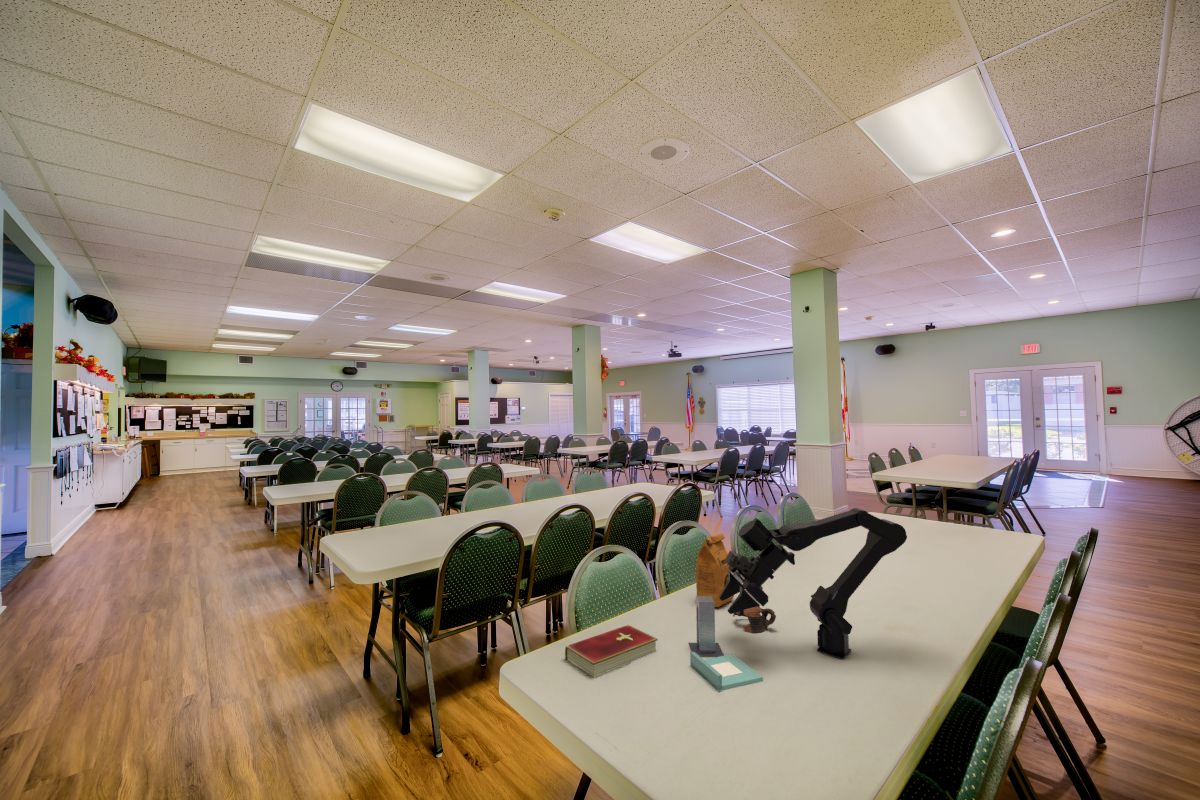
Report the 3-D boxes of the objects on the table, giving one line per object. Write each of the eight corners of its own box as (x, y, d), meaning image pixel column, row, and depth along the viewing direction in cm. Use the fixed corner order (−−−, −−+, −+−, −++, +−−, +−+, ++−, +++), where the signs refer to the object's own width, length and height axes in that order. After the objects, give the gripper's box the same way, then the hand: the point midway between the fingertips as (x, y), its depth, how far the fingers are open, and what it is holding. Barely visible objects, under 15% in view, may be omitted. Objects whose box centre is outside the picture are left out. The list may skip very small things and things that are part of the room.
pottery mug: (734, 635, 139) (728, 604, 143) (741, 638, 146) (735, 609, 151) (778, 629, 135) (770, 598, 140) (782, 633, 142) (774, 603, 147)
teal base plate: (732, 658, 124) (731, 644, 124) (763, 682, 113) (762, 666, 113) (690, 667, 120) (690, 652, 120) (718, 692, 108) (718, 675, 109)
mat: (717, 644, 132) (717, 642, 132) (724, 658, 124) (724, 656, 124) (688, 644, 132) (688, 642, 132) (693, 658, 124) (693, 656, 124)
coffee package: (738, 601, 163) (737, 534, 164) (718, 611, 155) (716, 541, 156) (713, 594, 171) (712, 530, 172) (692, 603, 162) (691, 536, 163)
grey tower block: (711, 645, 130) (710, 596, 131) (715, 653, 126) (714, 602, 127) (696, 645, 130) (695, 595, 131) (699, 653, 126) (698, 602, 127)
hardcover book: (565, 661, 124) (565, 644, 124) (627, 638, 137) (627, 623, 137) (593, 680, 115) (593, 662, 115) (657, 654, 128) (657, 637, 128)
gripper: (735, 533, 139) (696, 572, 138) (754, 550, 120) (709, 596, 120) (763, 561, 138) (724, 601, 138) (787, 583, 119) (742, 629, 119)
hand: (724, 605), depth 129 cm, fingers open, 9 cm apart
